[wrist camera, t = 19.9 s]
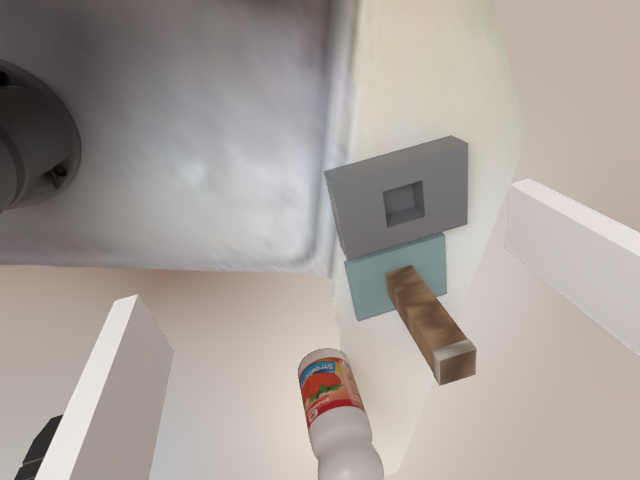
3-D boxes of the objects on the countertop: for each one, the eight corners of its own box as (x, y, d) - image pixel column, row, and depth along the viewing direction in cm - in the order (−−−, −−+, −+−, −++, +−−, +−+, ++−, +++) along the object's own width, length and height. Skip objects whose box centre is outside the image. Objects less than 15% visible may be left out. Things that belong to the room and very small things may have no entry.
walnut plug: (387, 295, 59) (439, 385, 44) (383, 272, 57) (438, 360, 42) (413, 286, 60) (475, 374, 44) (412, 264, 57) (476, 348, 42)
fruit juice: (325, 388, 70) (372, 574, 46) (286, 373, 65) (315, 569, 41) (357, 357, 67) (424, 536, 43) (319, 339, 63) (370, 526, 39)
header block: (340, 245, 54) (347, 259, 51) (324, 171, 48) (331, 182, 44) (453, 212, 55) (467, 224, 52) (451, 135, 49) (467, 143, 45)
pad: (356, 317, 62) (358, 321, 61) (344, 261, 56) (345, 265, 55) (443, 290, 63) (446, 293, 62) (441, 232, 57) (444, 235, 56)
